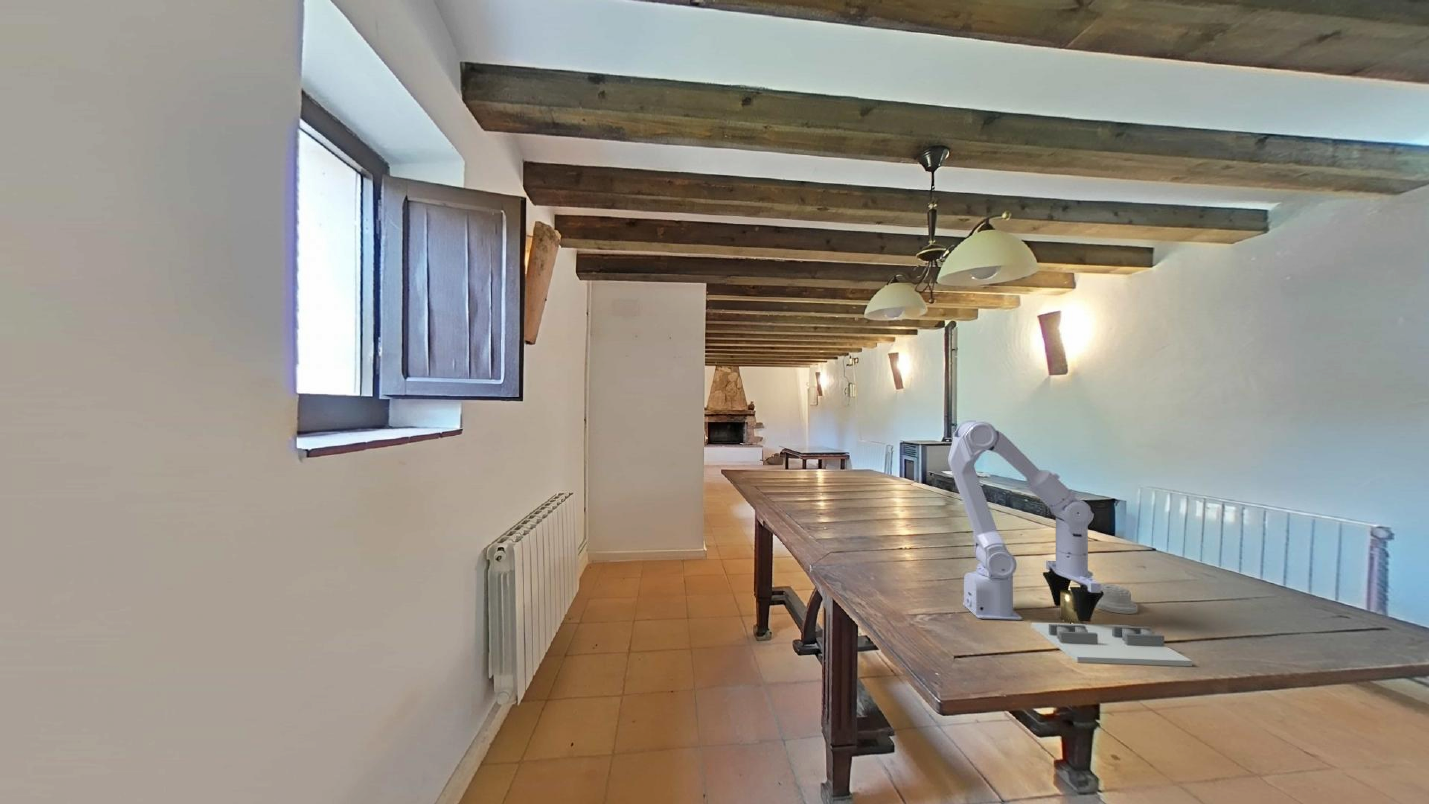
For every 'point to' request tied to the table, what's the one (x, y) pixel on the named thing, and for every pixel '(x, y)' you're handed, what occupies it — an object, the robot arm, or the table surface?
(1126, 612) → the mechanical component
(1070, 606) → the pin
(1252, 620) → the table surface
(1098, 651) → the chain base
